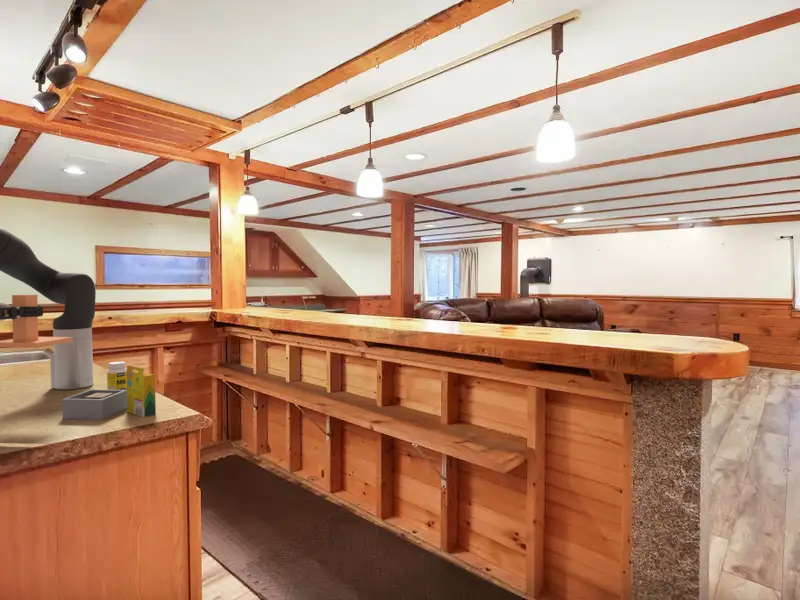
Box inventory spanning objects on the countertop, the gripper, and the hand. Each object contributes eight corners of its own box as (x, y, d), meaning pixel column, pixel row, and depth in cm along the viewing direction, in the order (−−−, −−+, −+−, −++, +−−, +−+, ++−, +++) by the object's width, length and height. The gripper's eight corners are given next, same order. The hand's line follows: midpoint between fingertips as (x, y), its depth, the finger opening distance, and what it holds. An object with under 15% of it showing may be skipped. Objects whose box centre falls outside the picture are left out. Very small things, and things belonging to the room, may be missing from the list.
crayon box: (156, 416, 105) (155, 366, 105) (143, 419, 103) (142, 368, 102) (139, 411, 109) (138, 363, 108) (126, 414, 107) (125, 365, 106)
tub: (62, 421, 101) (62, 399, 101) (91, 409, 110) (91, 389, 110) (102, 422, 100) (101, 399, 100) (127, 410, 109) (127, 390, 109)
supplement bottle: (117, 395, 124) (117, 364, 123) (103, 394, 124) (102, 363, 124) (131, 390, 128) (131, 361, 128) (117, 389, 129) (116, 360, 129)
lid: (-10, 346, 96) (-11, 295, 95) (30, 340, 106) (29, 293, 105) (36, 347, 95) (35, 295, 95) (72, 341, 105) (71, 294, 105)
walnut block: (85, 414, 104) (84, 397, 104) (97, 409, 108) (96, 392, 108) (102, 414, 104) (101, 397, 104) (113, 409, 108) (113, 393, 108)
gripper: (-73, 295, 83) (45, 294, 95) (-68, 293, 93) (38, 292, 105) (-72, 336, 83) (45, 330, 95) (-67, 329, 94) (38, 324, 106)
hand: (41, 310), depth 100 cm, fingers closed on lid, 4 cm apart
